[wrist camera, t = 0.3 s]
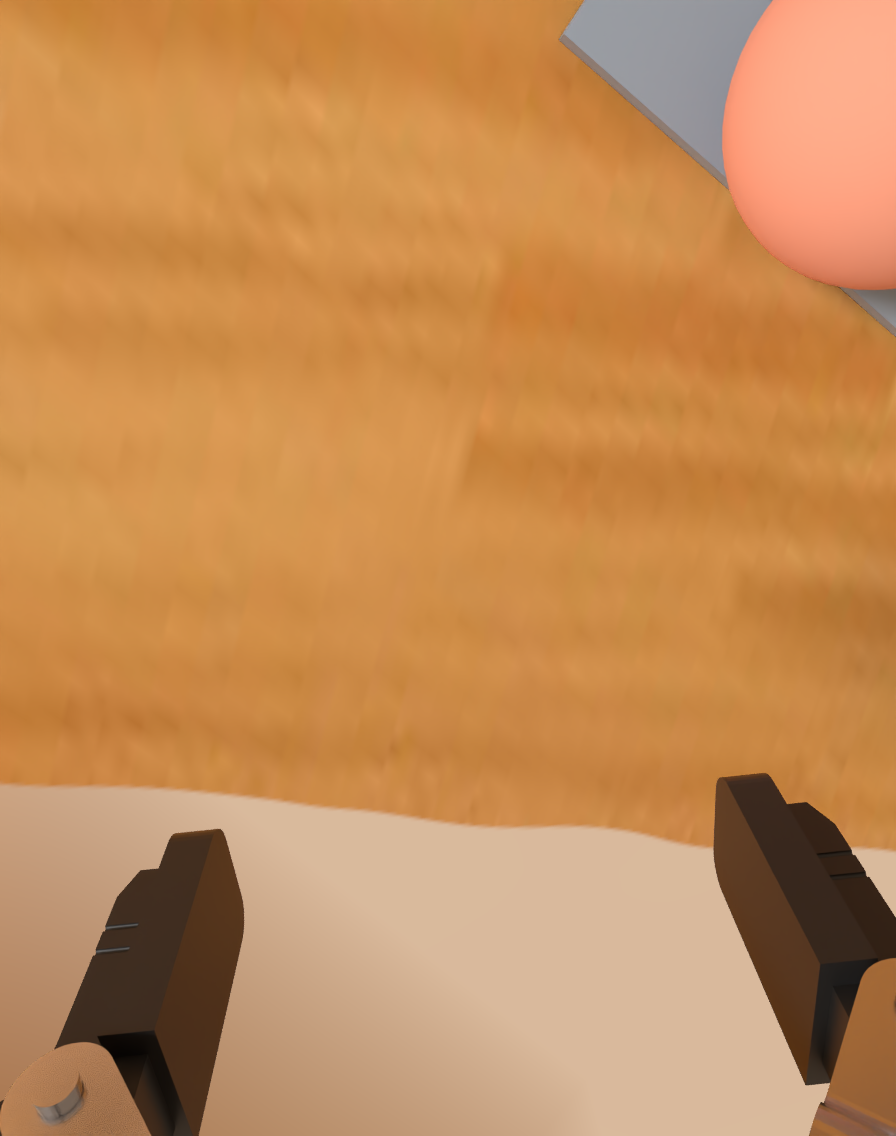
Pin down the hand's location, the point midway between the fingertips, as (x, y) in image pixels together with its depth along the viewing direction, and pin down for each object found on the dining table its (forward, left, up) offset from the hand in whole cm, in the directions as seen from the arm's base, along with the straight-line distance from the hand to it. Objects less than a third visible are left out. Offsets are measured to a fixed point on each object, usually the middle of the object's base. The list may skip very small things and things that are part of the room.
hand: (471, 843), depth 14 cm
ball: (-11, +20, -21) cm, 31 cm away
